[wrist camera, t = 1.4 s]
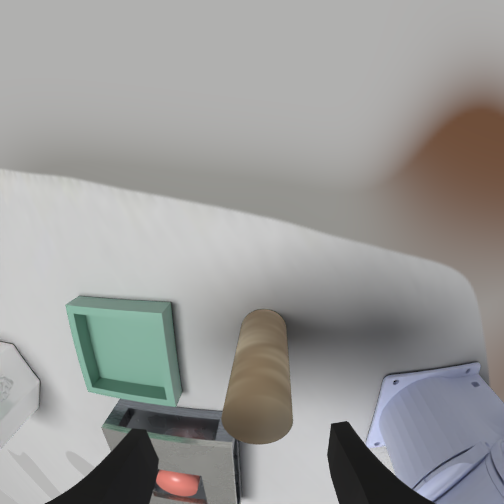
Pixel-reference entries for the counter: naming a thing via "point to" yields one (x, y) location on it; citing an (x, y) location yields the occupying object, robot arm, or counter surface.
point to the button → (178, 483)
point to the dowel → (259, 381)
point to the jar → (15, 392)
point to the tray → (126, 348)
